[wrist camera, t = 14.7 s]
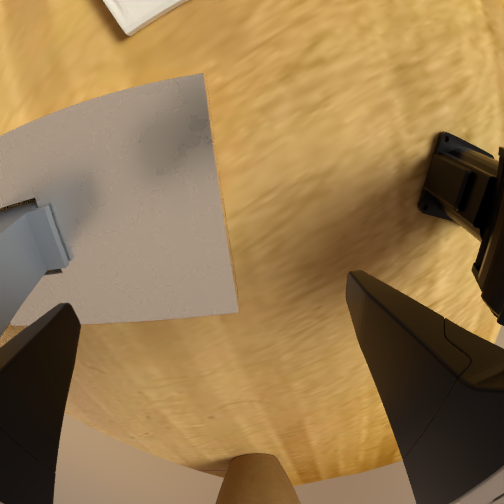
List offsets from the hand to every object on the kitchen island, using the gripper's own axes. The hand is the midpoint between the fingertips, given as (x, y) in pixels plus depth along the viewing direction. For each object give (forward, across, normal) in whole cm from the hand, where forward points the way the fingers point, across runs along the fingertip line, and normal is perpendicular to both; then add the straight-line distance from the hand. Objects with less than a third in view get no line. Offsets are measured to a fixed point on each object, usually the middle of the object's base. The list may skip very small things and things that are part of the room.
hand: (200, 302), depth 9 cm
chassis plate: (+12, +11, +1) cm, 16 cm away
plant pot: (+12, +2, +43) cm, 45 cm away
